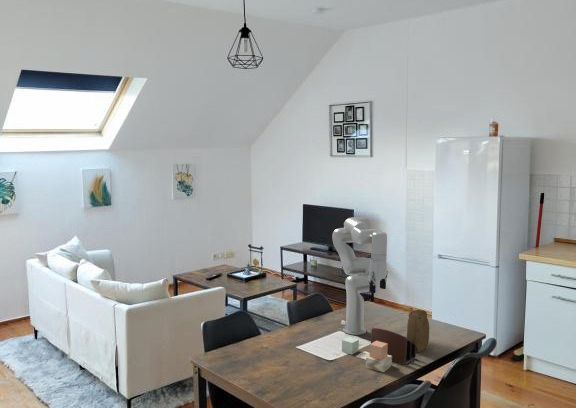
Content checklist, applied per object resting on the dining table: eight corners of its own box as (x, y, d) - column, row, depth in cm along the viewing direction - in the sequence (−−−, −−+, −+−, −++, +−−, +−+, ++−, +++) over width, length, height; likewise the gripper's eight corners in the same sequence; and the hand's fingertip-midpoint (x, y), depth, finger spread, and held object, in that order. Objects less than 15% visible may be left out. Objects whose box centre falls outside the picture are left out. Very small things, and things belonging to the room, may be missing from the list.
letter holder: (405, 365, 253) (406, 336, 251) (369, 353, 266) (370, 326, 264) (415, 359, 260) (416, 331, 258) (380, 348, 273) (381, 321, 272)
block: (415, 354, 266) (417, 315, 263) (404, 349, 272) (406, 310, 269) (430, 349, 272) (432, 311, 269) (419, 344, 278) (420, 307, 276)
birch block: (365, 368, 250) (366, 357, 249) (373, 361, 257) (374, 351, 256) (383, 372, 245) (384, 362, 244) (391, 366, 252) (392, 355, 251)
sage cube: (341, 351, 268) (342, 339, 267) (348, 348, 273) (348, 336, 272) (351, 354, 264) (352, 343, 263) (358, 351, 269) (358, 339, 268)
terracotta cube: (369, 356, 250) (369, 344, 249) (375, 352, 255) (376, 340, 254) (381, 360, 246) (381, 347, 246) (387, 356, 251) (387, 343, 250)
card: (355, 356, 262) (355, 355, 261) (364, 352, 268) (364, 351, 267) (369, 361, 256) (369, 360, 256) (378, 356, 262) (378, 355, 262)
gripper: (381, 253, 275) (380, 285, 277) (362, 258, 262) (361, 292, 264) (394, 255, 270) (393, 288, 272) (376, 260, 257) (374, 295, 259)
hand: (377, 290), depth 268 cm, fingers open, 9 cm apart
